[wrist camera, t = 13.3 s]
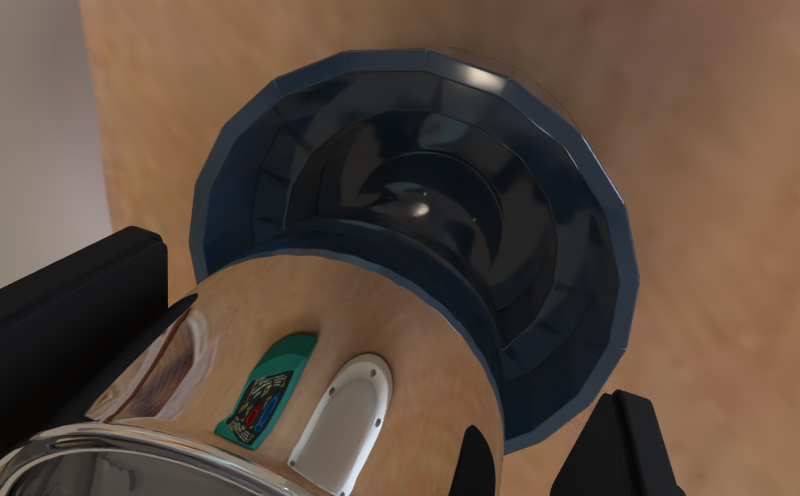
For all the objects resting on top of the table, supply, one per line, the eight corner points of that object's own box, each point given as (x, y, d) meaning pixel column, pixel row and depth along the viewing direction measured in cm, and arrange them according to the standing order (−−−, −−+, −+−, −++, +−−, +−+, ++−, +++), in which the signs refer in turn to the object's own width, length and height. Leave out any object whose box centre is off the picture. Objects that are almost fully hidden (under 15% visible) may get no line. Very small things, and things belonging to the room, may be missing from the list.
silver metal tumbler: (494, 320, 20) (432, 868, 7) (337, 282, 21) (16, 688, 8) (536, 157, 17) (571, 550, 4) (351, 122, 18) (-116, 338, 5)
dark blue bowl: (391, -33, 17) (318, -74, 11) (682, 196, 17) (761, 275, 11) (236, 236, 22) (134, 305, 17) (459, 401, 23) (436, 523, 17)
